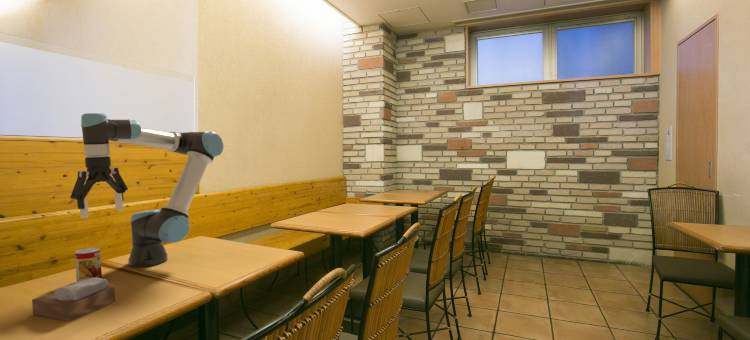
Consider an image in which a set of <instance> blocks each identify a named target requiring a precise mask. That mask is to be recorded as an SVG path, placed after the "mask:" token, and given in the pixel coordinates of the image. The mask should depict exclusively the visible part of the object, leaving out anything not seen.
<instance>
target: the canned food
mask: <svg viewBox="0 0 750 340" xmlns="http://www.w3.org/2000/svg"><path fill="white" fill-rule="evenodd" d="M101 254H102V253H101V248H100V247H87V248H82V249H78V250H76V251H75V252H74V257H75V258H74V259H75V260H74V261H75V275H76V276H75V277H76V282H78V281H81V280H84V279H89V278H102V279H103V277H102V276H103V274H102V273H103V272H102V258H101V257H102V255H101Z"/></svg>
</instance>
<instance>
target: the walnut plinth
mask: <svg viewBox="0 0 750 340" xmlns="http://www.w3.org/2000/svg"><path fill="white" fill-rule="evenodd" d="M54 293H55V291H53V292H49V293H47V294H44V295H41V296H39V297H36V298H33V299H32V300H31V302H32V303H31V304H32V315H33V316H35V317H41V318H46V319H47V318H48V319H53V320H59V321H65V322H69V321H73V320H75V319H77V318H79V317H82V316H84V315H86V314H87V315H88V314H89V313H91V312H93V311H96V310H99V309H100V308H103V307H106V306H108V305H111V304H112V303H115V302H116V287H115V286H113V285H108V286H107V288H106V289H104V290H102V291H99V292H96V293H95V294H92V295H89V296H87V297H85V298H82V299H80V300H77V301H59V300H57V299H55V296H54Z"/></svg>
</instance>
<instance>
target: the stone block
mask: <svg viewBox="0 0 750 340" xmlns="http://www.w3.org/2000/svg"><path fill="white" fill-rule="evenodd" d="M107 286H109V282H108V280H107V279H106V278H103V277H102V278H89V279H84V280H81V281H78V282H77V281H75V282H73V283H71V284H69V285H66V286H65V285H63V286H62V287H58V288H55V289H54V292H55V293H54V296H55V299H57V300H59V301H77V300H80V299H82V298H85V297H87V296H89V295H92V294H95V293H96V292H99V291H102V290H104V289H106V288H107Z"/></svg>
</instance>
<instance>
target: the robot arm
mask: <svg viewBox="0 0 750 340" xmlns="http://www.w3.org/2000/svg"><path fill="white" fill-rule="evenodd" d="M80 118H81V120H80V123H81V127H80V128H81V132H82V133H81V134H82V142H83V152H84V154H83V155H84V156H85V158H84V163H85V167H86V171H85V170H79V171H77V178H76V181H75V183H74V186H73V188H72V191H71V194H70V197H69V198H70V199H71V200H72V199H73V200H76V201H77V202H76V204H77V209H78V210H79V213H80V218H81V219H89V217H90V216H89V215H90V214H89V206H88V205H89V203H88V199H87V198H86V197H87V196H88V194H89V193H90V191H91V189H92V188H93V186H94V185H95V184H96V183H101V182H105V183H107V184H108V186H109V187H111V188H112V189H113V190H114V191H115V192H114V203H115V211H124V205H123V204H124V203H123V202H124V194H125V193H126V191H128V186H127V184H126V183H125V181H124V179H123V177H122V176H121V174H120V171H119V167H111V166H112V164H111V163H112V162H111V157H110V155H111V151H110V149H111V148H110V142H118V143H123V144H130V145H131V144H132V145H137V146H138V145H139V146H144V147H150V148H151V147H152V148H159V149H164V150H166V151H168V152H170V153H176V154H180V155H186V156H187V157H188V159H186V160H187V161H186V163H185V164H184V167H183V169H182V171H181V173H180V176H179V179H178V180H177V182H176V185H175V186H174V189H173V190H172V194H171V195H170V198H169V200H168V202H167V204H166V205H164V206H162V207H161V208H160V209H153V210H145V211H139V212H134V213H132V215H131V216H130V229H131V246H132V247H131V250H130V254H129V258H128V261H127V262H128V266H129V267H133V268H141V267H142V268H143V267H149V266H155V265H159V264H163V263H165V262H167V261H168V253H167V252H166V249H165V246H164V244H163V243H167V244H171V243H173V244H174V243H178V242H180V241H183V240H184V239H185V238H186V237H187V236H188V233H189V232H190V228H191V225H190V221H189V219H190V218H189V216H190V215H189V213H188V210H189V208H190V205H191V204H192V201H193V199H194V196H195V194H196V191H197V189H198V187H199V185H200V182H201V180H202V178H203V175H204V174H205V171H206V169H207V167H208V165H210V164H212V163H213V161H214V159H215V158H216V157H218V156H220V155H221V154H222V153H223V150H224V142H223V139H222V137H221V136H220V135H219V134H218V133H216V132H215V131H207V130H206V131H188V132H185V131H184V132H178V131H170V132H165V131H159V130H155V129H150V128H149V129H148V128H144V127H142V126H141V124H140V123H139V122H138V121H137V120H134V119H128V118H127V119H108V117H107V114H105V113H97V112H95V113H93V112H92V113H91V112H90V113H88V112H87V113H83V114H82V115H81V117H80Z"/></svg>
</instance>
